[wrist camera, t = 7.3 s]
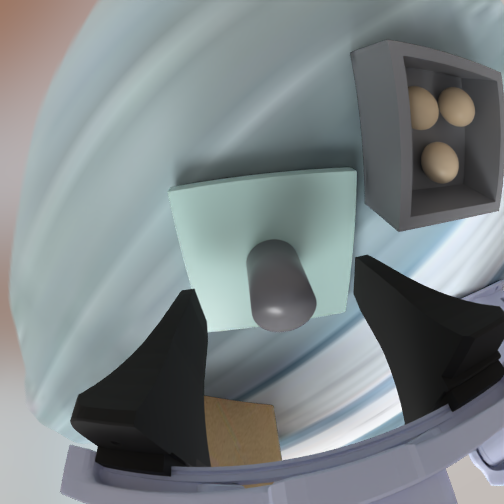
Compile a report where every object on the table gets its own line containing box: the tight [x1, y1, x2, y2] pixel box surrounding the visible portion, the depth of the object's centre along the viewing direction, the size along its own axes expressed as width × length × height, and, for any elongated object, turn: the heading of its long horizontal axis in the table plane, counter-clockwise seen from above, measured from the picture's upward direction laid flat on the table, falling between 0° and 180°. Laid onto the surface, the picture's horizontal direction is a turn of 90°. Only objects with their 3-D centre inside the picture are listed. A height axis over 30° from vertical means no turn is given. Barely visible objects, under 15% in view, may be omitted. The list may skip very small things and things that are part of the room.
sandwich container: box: [204, 396, 282, 488], centre depth 16 cm, size 9×15×15 cm, turn 69°
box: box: [350, 40, 504, 232], centre depth 10 cm, size 8×8×4 cm
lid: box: [168, 167, 357, 332], centre depth 13 cm, size 9×9×5 cm
